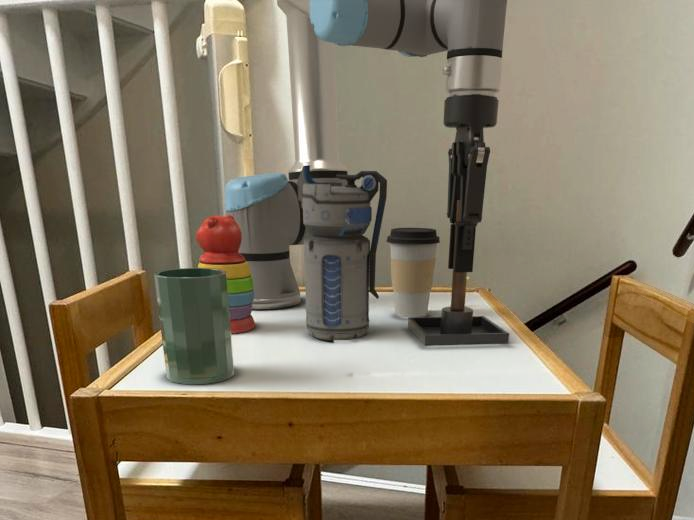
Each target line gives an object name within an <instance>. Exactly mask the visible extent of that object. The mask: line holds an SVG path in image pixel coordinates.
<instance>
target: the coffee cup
mask: <svg viewBox="0 0 694 520" xmlns="http://www.w3.org/2000/svg"><path fill="white" fill-rule="evenodd" d="M440 239H441V238H440V236H439V235H438V233H437V229H435V228H430V227H429V228H428V227H396V228H391V229H390V233H389V235H387V237H386V243H389V245H390V273H391V287H392V291H393V303H394V314H395V316H396V317H402V318H413V317H427V315H428V310H429V304H430V297H431V291H432V290H433V280H434V276H435V275H434V274H435V268H436V260H437V258H436V255H437V247H438V244H440V243H441V240H440Z"/></svg>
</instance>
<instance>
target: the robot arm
mask: <svg viewBox="0 0 694 520" xmlns="http://www.w3.org/2000/svg"><path fill="white" fill-rule="evenodd" d="M276 5H277V7H278V8H279V9H280V10H281V12H283V14H284V15H285V17H286V31H287V32H286V33H287V50H288V51H287V52H288V65H289V66H288V67H289V81H290V95H291V96H290V97H291V98H290V99H291V112H292V113H291V115H292V127H293V128H292V129H293V144H294V145H293V147H294V164H293V165H292V166H291V167H290V169H289V170H288V178H287V174H285V173H283V172H272V173H270V172H269V173H264V174H263V173H262V174H261V173H260V174H251V175H246V176H241V177H237V178H232V179H230V180H229V181H228V182H227V183H226V184H225V187H224V197H225V198H224V210H225V216H227V215H231V216H233V217H234V219H235V222H236V223H237V224H238V225H239V227H240V229H241V233H242V240H241V245H240V248H239V251H238V253H240V254H242V255H243V257H244V258H245V261H246V262H248V264H249V268H250V271H251V276H252V279H253V285H254V289H253V290H254V299H253V302H252V310H276V309H285V308H290V307H294V306H297V305H298V304H300V303H301V290H300V288H299V285H298V281H297V279H296V276H295V273H294V269H293V268H292V267H293V266H292V264H291V256H290V254H291V253H290V246H304V240H305V239H306V238H307V237H309V236H311V234H310V233H309V232H308V230H307V228H306V227H305V225H304V224H303V209H302V208H301V201H299V200H298V178H299V176H300V173H301V170H302V168H303V166H305V165H310V176H311V178H312V180H313V181H315V182H317V183H342V187H345V186H346V185H347V181H346V179H339V178H337V177H336V175H349V174H348V168H346V167H345V165H344V164H343V163H342V162H341V160H340V141H339V140H340V139H339V138H340V137H339V118H338V117H339V115H338V95H337V92H338V91H337V89H338V88H337V66H336V45H337V46H341V47H346V46H347V47H348V46H352V47H362V48H373V49H380V50H387V51H396V52H398V53H400V54H401V55H402V56H404V57H407V58H414V57H419V58H425V57H427V56H431V55H435V54H439V53H445V52H446V66H444V67H443V68H442V75H444V76H446V78H445V92H446V93H448V94H449V96H448V97H446V98H445V100H444V104H443V121H442V122H443V123H442V124H443V126H444V127H445V128H450V129H456V130H455V131H456V132H455V136H454V137H455V138H454V141H453V142H452V144H451V148H449V149H448V151H447V155H448V180H447V181H448V182H447V183H448V185H447V209H446V210H447V211H446V217H447V219H449V223H450V227H449V232H450V233H449V247H448V260H447V261H448V264H447V268H448V270H453V261H454V245H455V229H456V226H457V232H456V248H455V264H454V272H467V273H473V270H474V258H475V243H476V232H477V231H476V230H477V226H478V223H482V220H483V208H484V201H485V200H484V199H485V191H486V190H485V189H486V180H487V172H488V171H487V170H488V164H489V158H490V155H491V148H490V146H486V142H485V135H484V129H490V128H494V127H496V125H497V123H498V113H499V101H500V100H499V99H498V97H497V96H496V94H497V93H499V92H500V91H501V83H502V70H503V50H504V40H505V39H504V38H505V29H506V28H505V27H506V15H507V6H508V0H276ZM457 200H460V220H459V222H456V213H457Z"/></svg>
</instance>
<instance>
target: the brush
mask: <svg viewBox="0 0 694 520" xmlns="http://www.w3.org/2000/svg"><path fill="white" fill-rule="evenodd" d="M459 220H460V200H457V213H456V222H459ZM456 232H457V226H456V229H455V245H454V261H453V269H452V276H451V279H452V280H451V295H450V306H445V307H442V308H441V313H440V317H441V329H440V334H471V333H472V320H473V316H474V309H473V308H471V307H467V306H466V298H465V294H466V295H467V282H466V280H467V277H468V272H454V264H455V248H456Z"/></svg>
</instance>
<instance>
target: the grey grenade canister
mask: <svg viewBox="0 0 694 520" xmlns="http://www.w3.org/2000/svg"><path fill="white" fill-rule="evenodd" d="M336 177H337V178H339V179H346V181H347V185H346V186H345V187H342V183H317V182H315V181H313V180H312V178H311V176H310V165H305V166H303V168H302V170H301V173H300V176H299V178H298V200H299V201H301V208H302V209H303V224H304V225H305V227H306V228H307V230H308V232H309V233H310V234H311V236H309V237H307V238H306V239H305V240H304V245H303V254H304V257H303V258H304V288H305V290H304V291H305V316H306V317H305V326H306V327H305V328H306V331H307V332H308V333H309V335H310V336H311V337H314V338H316V339H319V340H321V341H329V342H334V341H342V340H353V339H358V338H363V337H364V336H366V335H367V333H368V331H369V328H370V315H369V314H370V313H369V311H370V309H369V308H370V294H371V295H372V296H373V297H374V298H375V299H376V300H379V298H380V296H379V294H378V292H377V290H376V265H377V264H376V263H377V260H376V259H377V249H378V245H379V239H380V234H381V229H382V223H383V220H384V219H383V218H384V213H385V207H386V204H387V203H386V201H387V196H388V195H387V194H388V193H387V192H388V179H387V178H385V177H384V176H383V175H382V174H381V173H380V172H378V171H377V170H361V171H359V172H357V173H356V174H348V175H336ZM361 178H362V180H361V185H360V186H357V185H356V181H357V180H360V179H361ZM377 193H379V194H378V195H379V197H378V202H377V209H376V214H375V220H374V226H373V231H372V238H371V240H370V239H369V238H368V237H367V236H365V235H364V234H365V233H366V231H367V230H368V229H369V227H370V225H371V222H372V221H373V220H372V219H373V218H372V217H373V214H372V209H373V208H372V206H371V202H372V200H373V198H374V197H375V196H376V195H377Z"/></svg>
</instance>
